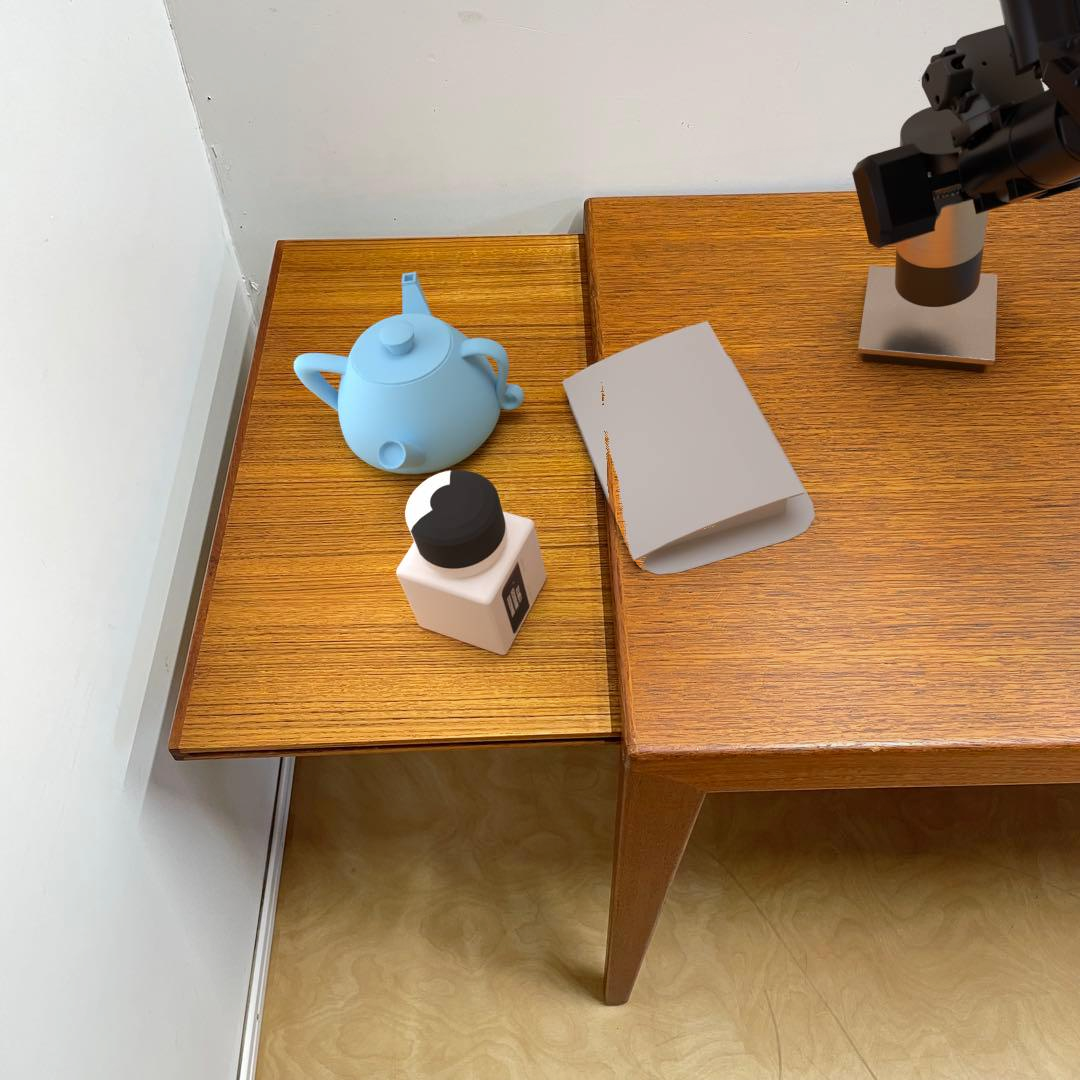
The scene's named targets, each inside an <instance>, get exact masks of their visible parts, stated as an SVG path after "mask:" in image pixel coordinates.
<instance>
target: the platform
mask: <svg viewBox="0 0 1080 1080" xmlns="http://www.w3.org/2000/svg"><path fill="white" fill-rule="evenodd" d="M895 268H896V266H894V267H893V266H883V265H882V266H880V265H869V266H868V272H867V279H866V280H867V281H866V287H865V295H864V300H863V307H862V308H863V309H862V316H861V321H860V322H861V323H860V331H859V337H858V338H859V339H858V344H857V351H856V353H857V354H861V355H862V357H861V361H862V362H869V363H880V364H889V365H891V364H892V365H901V366H912V367H921V368H922V367H923V368H931V369H932V368H933V369H943V370H954V371H966V372H975V373H984V371H985V369H986V366H987V365H988V366H995V365H994V364H995V361H996V346H997V345H996V344H997V341H996V339H997V313H998V312H997V311H998V310H997V309H998V307H997V305H998V279H999V278H998V274H997V273H983V272H981V273H980V281H979V285H978V287H977V289H976V290H975V292H974V293H973V294H972V295H971V296H969V297H968V298H966V299H965V300H963V301H961V302H959V303H956V304H953V305H949V306H943V307H925V306H919V305H916V304H913V303H910V302H908V301H907V300H905V299H904V298H902V297H901V296H900V295H899V293H898V292H897V290H896V287H895Z"/></svg>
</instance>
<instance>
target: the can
mask: <svg viewBox="0 0 1080 1080" xmlns="http://www.w3.org/2000/svg"><path fill="white" fill-rule="evenodd" d="M960 124H961V120H960V119H959V118H958V117H957V116H956V115H954V114H953V113H952V111H951V110H948V109H946V110H942V111H938V112H937V111H934V110H933V109H932V107H931V106H929V107H926V108H924V109H921V110H919V111H917V112H916V113H914V114H912V115H911V116H909V117H908V118H907V119H906V120H905V121H904V123H903V124H902V126H901V128H900V131H899V147H900V146H904V145H907V144H910V143H914V144H915V145H916V146H917V147H918V148H919V149H920V150H921V151H922V152H923V156H924V160H925V164H926V169H927V173H929V172H930V174H931V177H932V176H935V175H938V174H942V173H945V172H949V171H952V170H955V169H957V163H958V156H959V152H960V151H961V147H958V148H954V146H953V142H952V137H951V133H950V130H951V129H953V128H954V127H956V126H958V125H960ZM961 188H962V185H958V186H955V187H951V188H948V189H944V190H941V191H938V192H935V195H939V197H940V194H942V193H944V195H945V193H946V192H949V193H950V191H952V190H954V191H955V190H956V189H961ZM988 218H989V211H986V212H983V213H980V214H976V212H975V208H974V203H973V200H970V201H967V202H964V203H960V204H957V205H954V206H950V207H947V208H944V209H942V211H941V215H940V217H939V218H938V219H937V220H936V224H935V231H933V232H930V233H927V234H924V235H921V236H918V237H916V238H913V239H909V240H906V241H903V242H899V243H896V244H895V267H896V268H895V287H896V290H897V292H898V293H899V295H900V296H901V297H902V298H904V299H905V300H907V301H908V302H910V303H913V304H916V305H919V306H925V307H943V306H949V305H953V304H956V303H959V302H961V301H963V300H965V299H966V298H968V297H969V296H971V295H972V294H973V293H974V292H975V290H976V289H977V287H978V285H979V281H980V273H982V264H983V255H984V245H985V243H986V235H987V227H988Z"/></svg>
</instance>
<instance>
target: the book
mask: <svg viewBox="0 0 1080 1080" xmlns="http://www.w3.org/2000/svg"><path fill="white" fill-rule="evenodd" d="M741 375H742V374H741V373H740V371H739V370H738V368H737V366H736V365H735V363H734V361H733V360H732V357H730V356H729V355H728V354H727V353H726V351H725V349H724V346H723V345H722V344H721V342H720V341H719V338H718V337H717V335H716V333H715V331H714V330H713V328H712V326H711V324H710V323H709V321H708V320H706V321H703V322H699V323H696V324H693V325H690V326H689V325H688V326H686V327H683V328H679V329H677V330H674V331H671V332H668V333H666V334H663V335H660V336H657V337H654V338H652V339H649V340H646V341H644V342H642V343H639V344H636V345H634V346H631V347H629V348H626V349H624V350H623V349H622V350H621V351H618V352H616V353H614V354H612V355H610V356H608V357H606V358H603V359H601V360H599V361H598V362H595V363H593V364H591V365H588V366H586V367H585V368H584V369H581V370H580V371H578V372H576V373H574V374H573V375H571V376H569V377H567V378H565V379H563V380H562V381H561V384H562V387H563V389H564V391H565V394H566V397H567V399H568V403H569V404H568V406H569V409H570V410H571V413H572V416H573V418H574V421H575V423H576V426H577V428H578V431H579V433H580V435H581V438H582V440H583V443H584V446H585V448H586V450H587V453H588V456H589V458H590V461H591V463H592V465H593V468H594V471H595V473H596V475H597V478H598V481H599V483H600V486H601V488H602V490H603V493H604V496H605V498H606V501H607V503H608V504H609V499H608V498H609V493H608V486H607V459H606V458H607V457H606V456H607V455H606V453H607V452H608V451H607V449H608V448H609V449H610V450H609V451H610V453H609V454H610V455H611V458H612V461H613V462H614V463H612V464H614V466H613V467H614V468H615V469H614V470H615V471H616V474H617V477H618V478H617V479H618V480H619V481H618V482H619V483H618V484H619V488H618V489H620V490H618V491H620V492H619V494H620V495H619V496H621V497H619V498H621V499H619V500H620V501H619V502H620V503H622V504H620V505H622V506H623V507H622V506H620V507H622V508H623V509H622V510H623V511H622V512H623V513H622V514H623V515H622V516H623V517H622V518H623V521H625V522H623V523H625V524H626V525H625V524H624V525H625V526H626V527H625V526H624V527H625V528H626V529H625V528H624V529H625V530H626V536H625V537H626V538H625V539H627V540H626V541H627V542H628V543H627V544H629V545H628V546H629V547H628V548H629V550H630V553H631V555H632V558H633V560H638V559H640V558H641V559H645V560H641V561H644V562H640V563H643V564H646V565H642V566H645V567H641V568H644V569H641V570H642V571H645V570H650V571H647V572H648V573H652V574H654V575H657V576H661V575H670V574H679V573H682V572H686V571H690V570H692V569H696V568H699V567H703V566H705V565H710V564H712V563H716V562H719V561H723V560H726V559H730V558H732V557H736V556H737V557H738V556H739V555H743V554H747V553H749V552H753V551H756V550H760V549H763V548H767V547H769V546H773V545H776V544H780V543H784V542H787V541H789V540H792V539H794V538H796V537H797V536H799V535H802V534H803V533H805V532H807V531H808V529H809V528H810V527H811V525H812V523H813V521H814V519H815V518H816V513H815V509H814V502H813V500H812V499H811V497H810V496H809V494H808V492H807V490H806V488H805V486H804V484H803V483H802V481H801V479H800V478H799V476H798V474H797V473H796V470H795V469H794V467H793V465H792V463H791V461H790V460H789V458H788V456H787V455H786V452H785V450H784V449H783V448H782V446H781V444H780V442H779V441H778V439H777V437H776V435H775V434H774V431H773V429H771V426H770V425H769V422H768V421H767V419H766V418H765V416H764V414H763V413H762V411H761V408H760V407H759V405H758V403H757V402H756V400H755V398H754V396H753V394H752V393H751V391H750V390H749V388H748V386H747V384H746V382H745V381H744V379H743V377H742V376H741ZM601 382H602V383H601ZM602 386H603V391H604V392H601V391H602ZM602 393H603V394H604V395H605V396H603V397H604V401H602ZM603 403H604V405H602V404H603ZM604 431H605V432H606V431H607V432H608V433H607V432H606V434H607V435H608V436H607V435H606V434H605V432H604ZM605 435H606V436H607V437H608V438H609V440H608V441H609V442H608V443H609V444H608V443H607V442H606V441H605V437H606V436H605ZM607 437H606V438H607ZM605 442H606V443H607V444H608V446H609V447H608V446H607V445H606V443H605ZM606 446H607V447H608V448H607V447H606ZM606 448H607V449H606ZM621 501H622V502H621ZM714 525H715V526H714ZM710 526H711V527H710ZM712 526H713V527H712ZM708 527H709V528H708ZM704 528H706V529H704ZM702 529H703V530H702ZM624 533H625V532H624ZM624 535H625V534H624ZM642 557H646V558H642ZM633 560H632V561H633Z"/></svg>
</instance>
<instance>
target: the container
mask: <svg viewBox="0 0 1080 1080" xmlns="http://www.w3.org/2000/svg"><path fill="white" fill-rule="evenodd" d="M497 490H498V489H497V488H496V486H495V485H494V483H493V482H492V481H491V480H489V478H487V477H485V476H483V475H482V474H481V473H480V474H479V473H477V472H475V471H470V470H464V469H452V470H445V471H442V472H438V473H436V474H434V475H432V476H429V477H428V478H427V479H426V480H424V481H422V482H421V484H419V485H417V487H416V488H415V489H414V490H413V491H412V493H411V495H410V496H409V498H408V500H407V502H406V506H405V510H404V516H405V517H404V518H405V522H406V525H407V527H408V530H409V533H410V535H411V538H412V540H413V543H412V544H411V546H410V547H409V549H408V550H407V552H406V554H405V555H404V556H403V558H402V560H401V562H400V564H399V565H398V567H397V568H396V572H395V574H396V577H397V579H398V581H399V583H400V586H401V588H402V590H403V592H404V594H405V597H406V599H407V601H408V603H409V606H410V608H411V610H412V613H413V615H414V618H415V619H416V622H417V623H418V624H417V625H418V626H420V627H421V628H422V629H425V630H427V631H430V632H434V633H436V634H439V635H442V636H446V637H448V638H450V639H451V638H452V639H454V640H457V641H459V642H463V643H466V644H468V645H472V646H474V647H477V648H480V649H483V650H486V651H488V652H492V653H494V654H497V655H500V656H505V655H507V654H508V653H509V651H510V649H511V647H512V645H513V643H514V641H515V639H516V637H517V635H518V634H519V631H520V630H521V628H522V627H523V624H524V622H525V620H526V619H527V617H528V615H529V613H530V611H531V609H532V607H533V605H534V603H535V602H536V599H537V598H538V596H539V595H540V592H541V590H542V588H543V586H544V584H545V582H546V580H547V572H546V569H545V564H544V560H543V556H542V550H541V545H540V542H539V537H538V534H537V529H536V524H535V522H534V520H533V519H531V518H528V517H524V516H521V515H517V514H514V513H510V512H508V511H504V510H503V507H502V503H501V500H500V495H499V492H498V491H497Z"/></svg>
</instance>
